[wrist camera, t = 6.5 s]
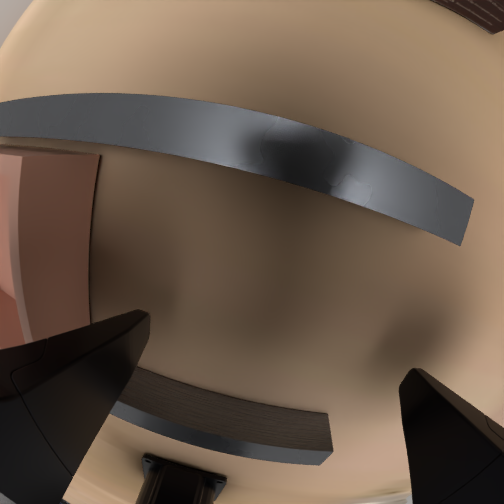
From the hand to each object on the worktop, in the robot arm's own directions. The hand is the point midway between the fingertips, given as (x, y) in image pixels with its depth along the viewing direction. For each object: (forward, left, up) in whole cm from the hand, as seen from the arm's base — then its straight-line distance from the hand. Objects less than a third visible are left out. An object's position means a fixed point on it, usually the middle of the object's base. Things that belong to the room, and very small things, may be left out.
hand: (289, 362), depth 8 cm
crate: (0, +13, -2) cm, 13 cm away
